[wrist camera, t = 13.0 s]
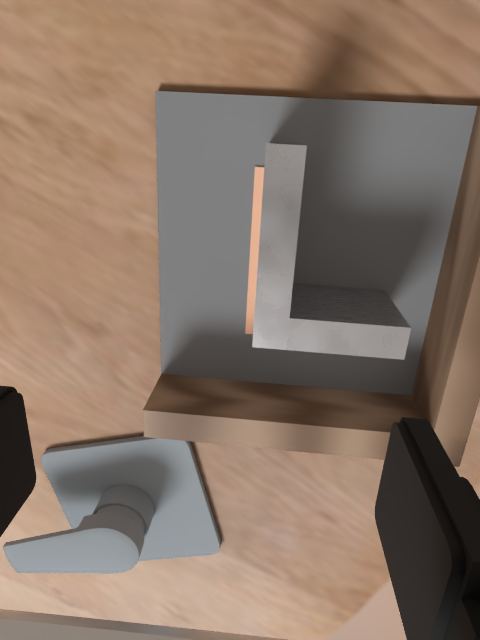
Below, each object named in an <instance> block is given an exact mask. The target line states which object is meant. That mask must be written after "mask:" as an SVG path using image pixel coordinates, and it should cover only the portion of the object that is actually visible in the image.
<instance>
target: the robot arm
mask: <svg viewBox="0 0 480 640" xmlns="http://www.w3.org/2000/svg"><path fill="white" fill-rule="evenodd" d="M35 483H36V472H35V466H34V460H33V454H32V448H31V442H30V436H29V430H28V424H27V418H26V412H25V406H24V400H23V396H22V395H21V394H20V393H17V390H16V389H15V388H14V387H9V386H0V537H1V535H2V534H3V533H4V531H5V530H6V528H7V527H8V525H9V524H10V522H11V521H12V520H13V518H14V517H15V515H16V514H17V512H18V511H19V510H20V508H21V507H22V505H23V504H24V502H25V501H26V499H27V498H28V497H29V495H30V494H31V492H32V491H33V489H34V486H35ZM375 520H376V524H377V528H378V532H379V536H380V539H381V543H382V547H383V551H384V555H385V558H386V562H387V566H388V570H389V573H390V577H391V581H392V585H393V588H394V592H395V596H396V599H397V604H398V607H399V611H400V615H401V619H402V622H403V626H404V630H405V634H406V638H407V640H480V499H479V498H478V496H477V494H476V492H475V491H474V489H473V487H472V485H471V484H470V483H469V481H468V480H467V479H465V478H464V477H459V475H458V473H457V471H456V469H455V468H454V466H453V464H452V462H451V460H450V458H449V457H448V455H447V453H446V451H445V449H444V448H443V446H442V444H441V442H440V440H439V439H438V437H437V435H436V433H435V431H434V429H433V428H432V426H431V424H430V422H429V421H428V420H427V419H423V418H410V417H402V418H401V420H400V422H399V423H398V422H394V423H393V424H392V427H391V432H390V437H389V442H388V447H387V451H386V456H385V461H384V466H383V471H382V476H381V480H380V485H379V490H378V495H377V500H376V505H375ZM0 640H286V639H277V638H268V637H259V636H250V635H241V634H232V633H223V632H214V631H205V630H196V629H187V628H177V627H168V626H158V625H149V624H140V623H130V622H121V621H111V620H102V619H92V618H82V617H73V616H63V615H54V614H44V613H33V612H23V611H13V610H3V609H0Z"/></svg>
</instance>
